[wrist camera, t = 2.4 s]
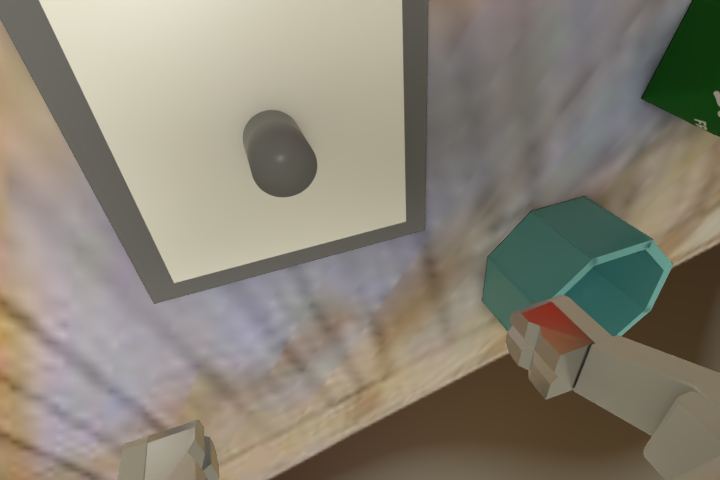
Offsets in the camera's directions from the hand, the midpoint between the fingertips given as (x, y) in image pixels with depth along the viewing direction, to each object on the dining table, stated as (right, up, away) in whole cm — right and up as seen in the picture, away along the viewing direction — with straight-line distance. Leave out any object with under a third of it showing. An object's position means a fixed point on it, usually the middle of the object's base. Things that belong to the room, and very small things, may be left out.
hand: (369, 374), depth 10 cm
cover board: (-6, +10, +14) cm, 17 cm away
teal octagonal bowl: (+18, +1, +29) cm, 34 cm away
